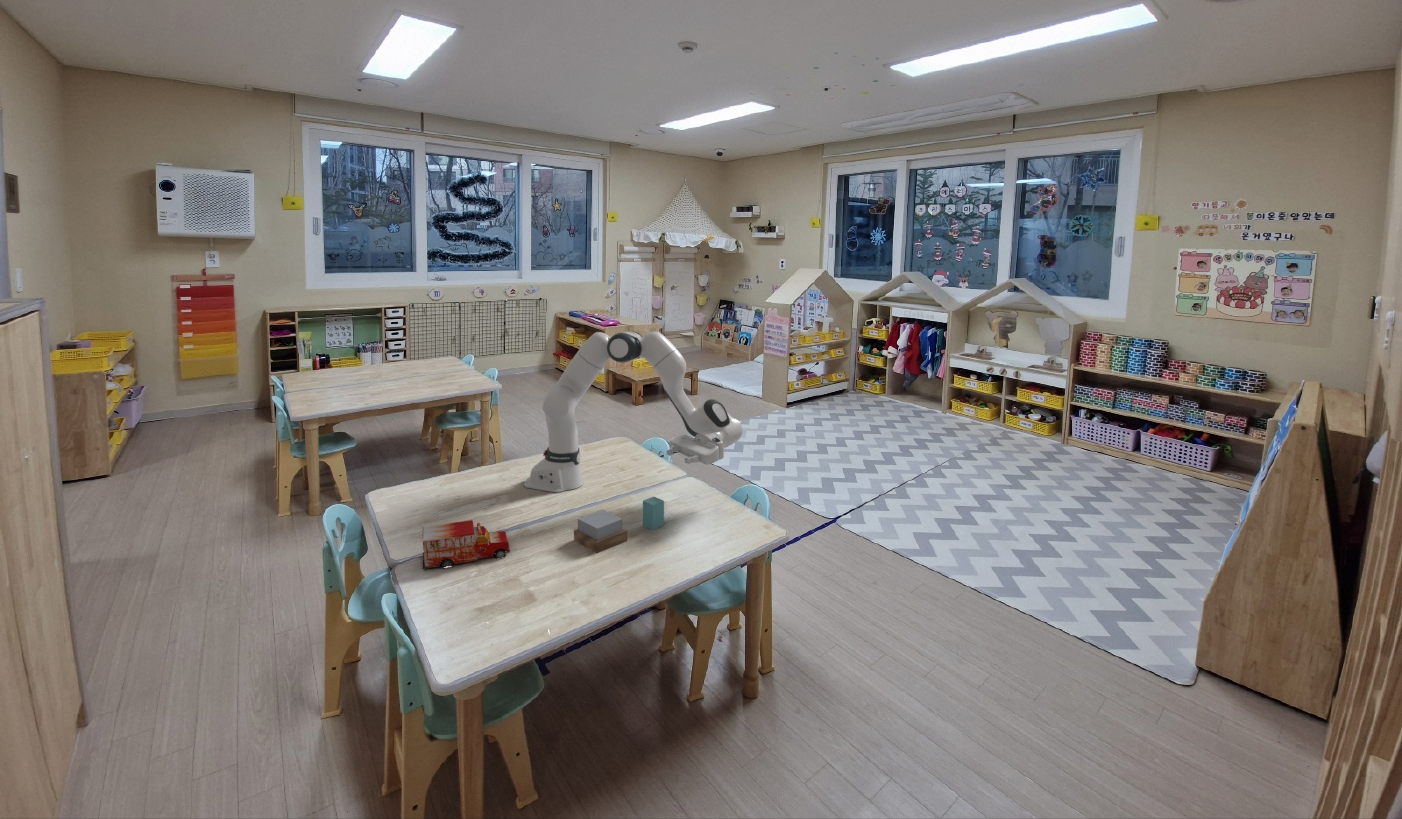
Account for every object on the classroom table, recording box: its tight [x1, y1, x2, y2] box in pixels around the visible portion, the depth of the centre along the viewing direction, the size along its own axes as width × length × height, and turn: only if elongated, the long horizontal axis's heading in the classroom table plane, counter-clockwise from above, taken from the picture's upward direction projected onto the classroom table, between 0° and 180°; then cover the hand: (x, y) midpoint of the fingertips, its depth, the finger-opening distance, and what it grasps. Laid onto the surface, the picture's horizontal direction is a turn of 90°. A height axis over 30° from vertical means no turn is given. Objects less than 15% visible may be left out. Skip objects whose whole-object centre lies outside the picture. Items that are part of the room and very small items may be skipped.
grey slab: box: [577, 509, 624, 540], centre depth 211 cm, size 10×10×4 cm
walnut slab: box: [573, 528, 628, 554], centre depth 212 cm, size 12×12×4 cm
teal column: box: [642, 496, 665, 531], centre depth 222 cm, size 5×5×9 cm
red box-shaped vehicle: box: [422, 519, 511, 570], centre depth 199 cm, size 11×25×10 cm, turn 112°
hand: (676, 457), depth 226 cm, fingers open, 8 cm apart
